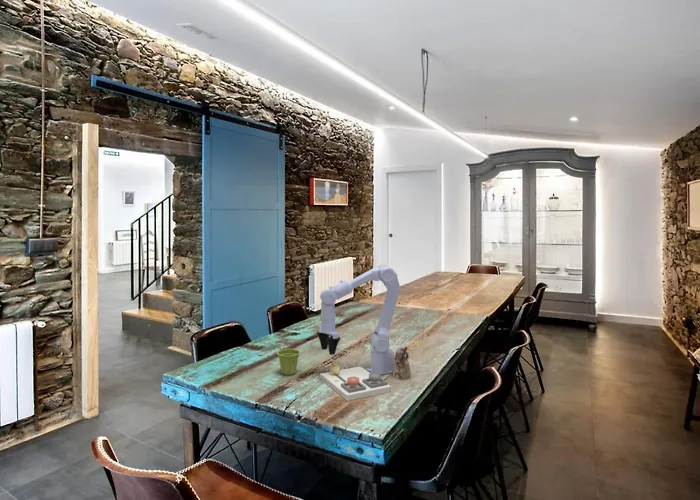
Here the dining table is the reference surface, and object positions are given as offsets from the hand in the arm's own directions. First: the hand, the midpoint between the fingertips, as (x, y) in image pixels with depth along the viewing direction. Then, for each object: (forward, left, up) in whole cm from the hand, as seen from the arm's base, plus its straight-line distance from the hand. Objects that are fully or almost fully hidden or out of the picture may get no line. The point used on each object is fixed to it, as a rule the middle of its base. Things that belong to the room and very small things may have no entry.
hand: (328, 351), depth 176 cm
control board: (-4, +15, -9) cm, 18 cm away
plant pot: (+14, -9, -10) cm, 19 cm away
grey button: (-9, +22, -6) cm, 24 cm away
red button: (0, +22, -6) cm, 22 cm away
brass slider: (0, +6, -7) cm, 9 cm away
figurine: (-25, +16, -10) cm, 31 cm away
